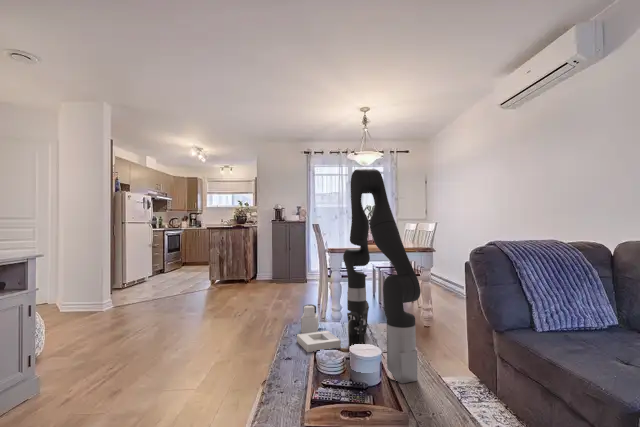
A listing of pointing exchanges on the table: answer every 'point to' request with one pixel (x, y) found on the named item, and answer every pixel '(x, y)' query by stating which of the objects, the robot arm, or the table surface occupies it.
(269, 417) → the table surface
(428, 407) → the table surface
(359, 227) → the robot arm
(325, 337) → the charging dock
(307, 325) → the medicine bottle
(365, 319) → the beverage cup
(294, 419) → the table surface
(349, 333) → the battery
